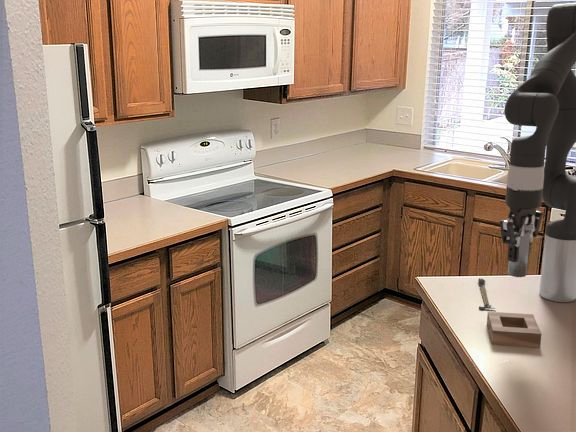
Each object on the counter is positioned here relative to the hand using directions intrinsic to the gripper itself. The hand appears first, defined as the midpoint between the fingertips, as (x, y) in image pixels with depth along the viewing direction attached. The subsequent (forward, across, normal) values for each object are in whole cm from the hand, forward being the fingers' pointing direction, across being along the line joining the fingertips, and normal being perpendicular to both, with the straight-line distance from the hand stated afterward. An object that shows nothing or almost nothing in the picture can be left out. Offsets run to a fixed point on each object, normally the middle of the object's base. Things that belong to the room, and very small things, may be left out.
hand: (518, 258), depth 139 cm
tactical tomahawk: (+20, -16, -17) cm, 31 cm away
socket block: (+19, 0, 0) cm, 19 cm away
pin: (+4, 0, 0) cm, 4 cm away
